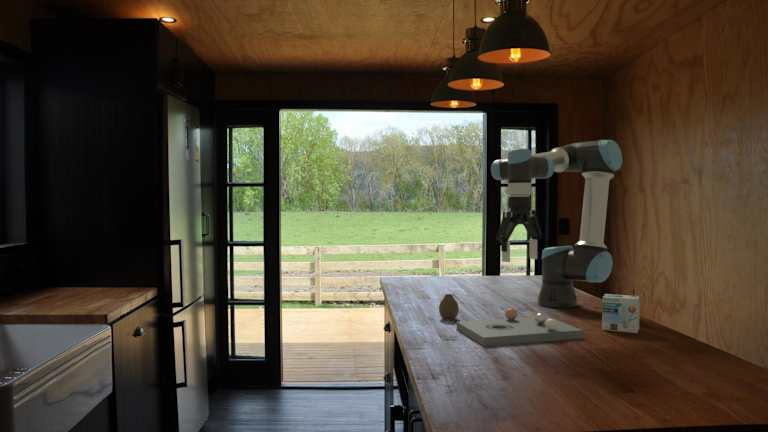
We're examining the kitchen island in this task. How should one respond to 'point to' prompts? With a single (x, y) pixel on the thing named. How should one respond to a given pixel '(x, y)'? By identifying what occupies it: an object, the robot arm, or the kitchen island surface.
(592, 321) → the kitchen island surface
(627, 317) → the light bulb box
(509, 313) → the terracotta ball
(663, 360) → the kitchen island surface
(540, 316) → the steel ball
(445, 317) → the vase
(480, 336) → the plate
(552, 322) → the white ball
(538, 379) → the kitchen island surface
